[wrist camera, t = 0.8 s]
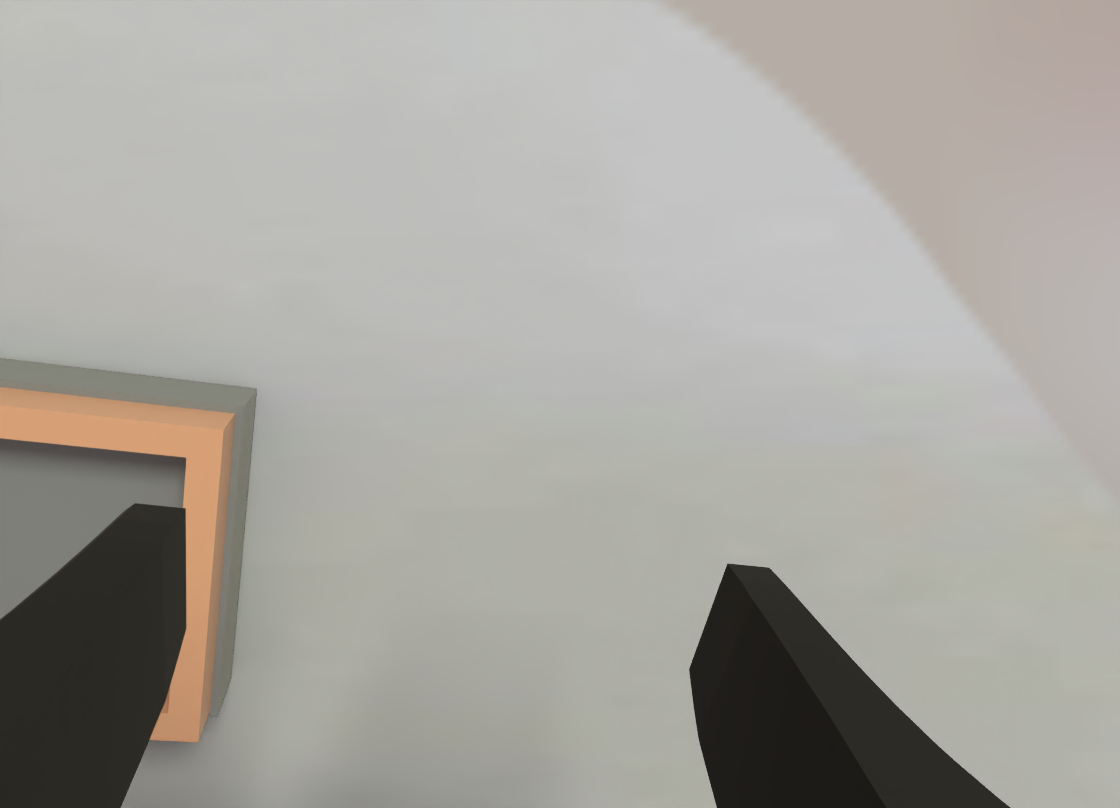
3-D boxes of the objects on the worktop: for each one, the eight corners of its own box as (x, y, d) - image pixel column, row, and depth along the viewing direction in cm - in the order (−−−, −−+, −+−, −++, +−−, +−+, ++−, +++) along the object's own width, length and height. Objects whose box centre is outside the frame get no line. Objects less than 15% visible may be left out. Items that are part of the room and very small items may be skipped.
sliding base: (230, 678, 28) (205, 749, 24) (-102, 657, 26) (-178, 730, 23) (256, 388, 26) (233, 422, 22) (-102, 345, 24) (-186, 376, 21)
